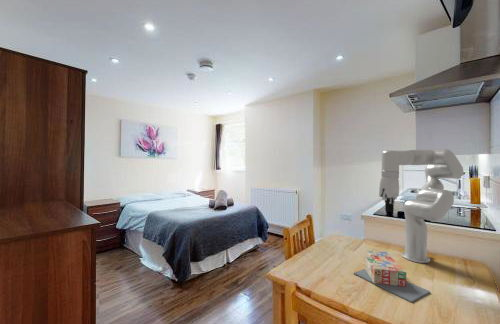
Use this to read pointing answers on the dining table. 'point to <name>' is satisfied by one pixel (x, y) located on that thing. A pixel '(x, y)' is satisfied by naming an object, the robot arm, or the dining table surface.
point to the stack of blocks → (384, 269)
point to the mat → (398, 288)
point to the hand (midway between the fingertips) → (389, 211)
